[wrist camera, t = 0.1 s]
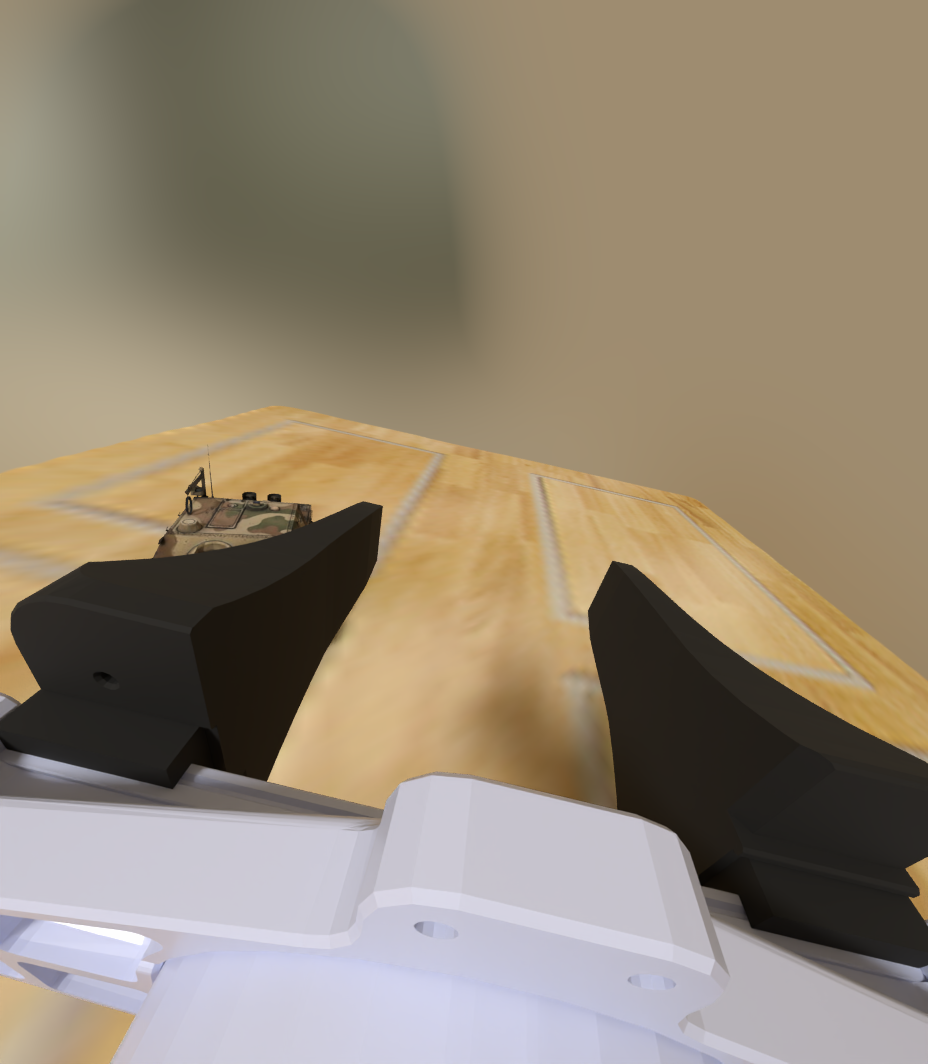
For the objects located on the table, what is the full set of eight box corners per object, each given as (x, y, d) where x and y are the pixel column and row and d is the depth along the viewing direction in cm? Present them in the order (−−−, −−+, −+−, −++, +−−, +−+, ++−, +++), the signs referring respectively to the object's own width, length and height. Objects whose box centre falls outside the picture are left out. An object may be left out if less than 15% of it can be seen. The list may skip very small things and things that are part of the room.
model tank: (120, 682, 29) (70, 501, 22) (206, 538, 47) (193, 416, 41) (304, 670, 33) (308, 515, 27) (317, 542, 52) (321, 432, 45)
